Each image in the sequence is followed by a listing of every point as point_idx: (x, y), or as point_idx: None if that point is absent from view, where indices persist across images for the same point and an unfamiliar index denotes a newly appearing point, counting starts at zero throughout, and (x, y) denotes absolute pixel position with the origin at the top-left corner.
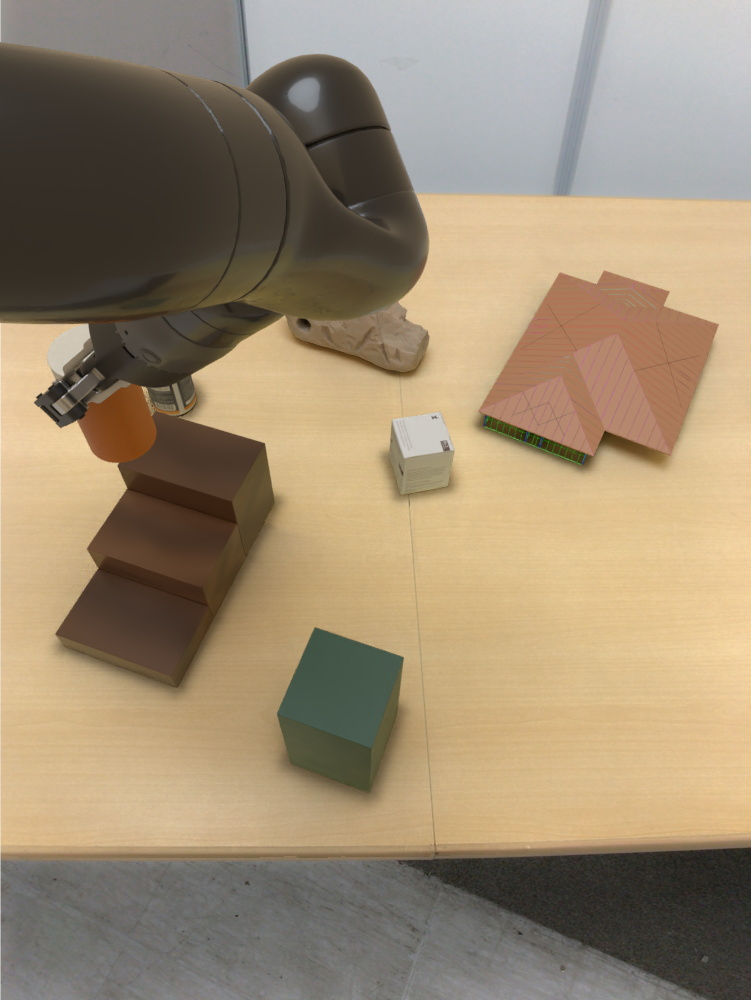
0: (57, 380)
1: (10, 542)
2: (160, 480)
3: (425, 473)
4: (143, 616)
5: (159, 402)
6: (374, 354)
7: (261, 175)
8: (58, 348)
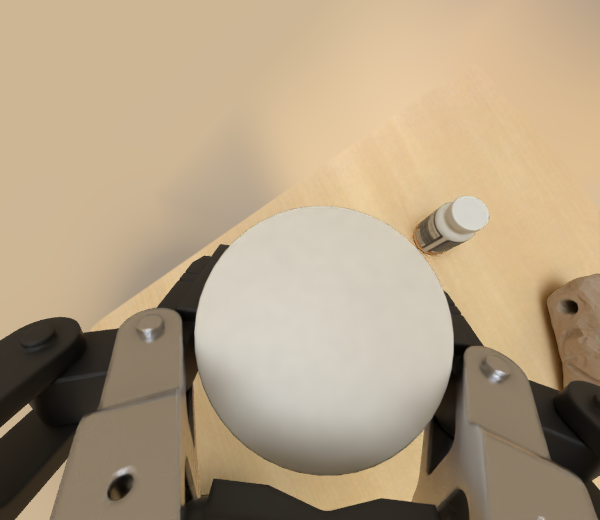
0: (151, 333)
1: (269, 203)
2: None
3: None
4: None
5: (420, 233)
6: None
7: None
8: (294, 237)
